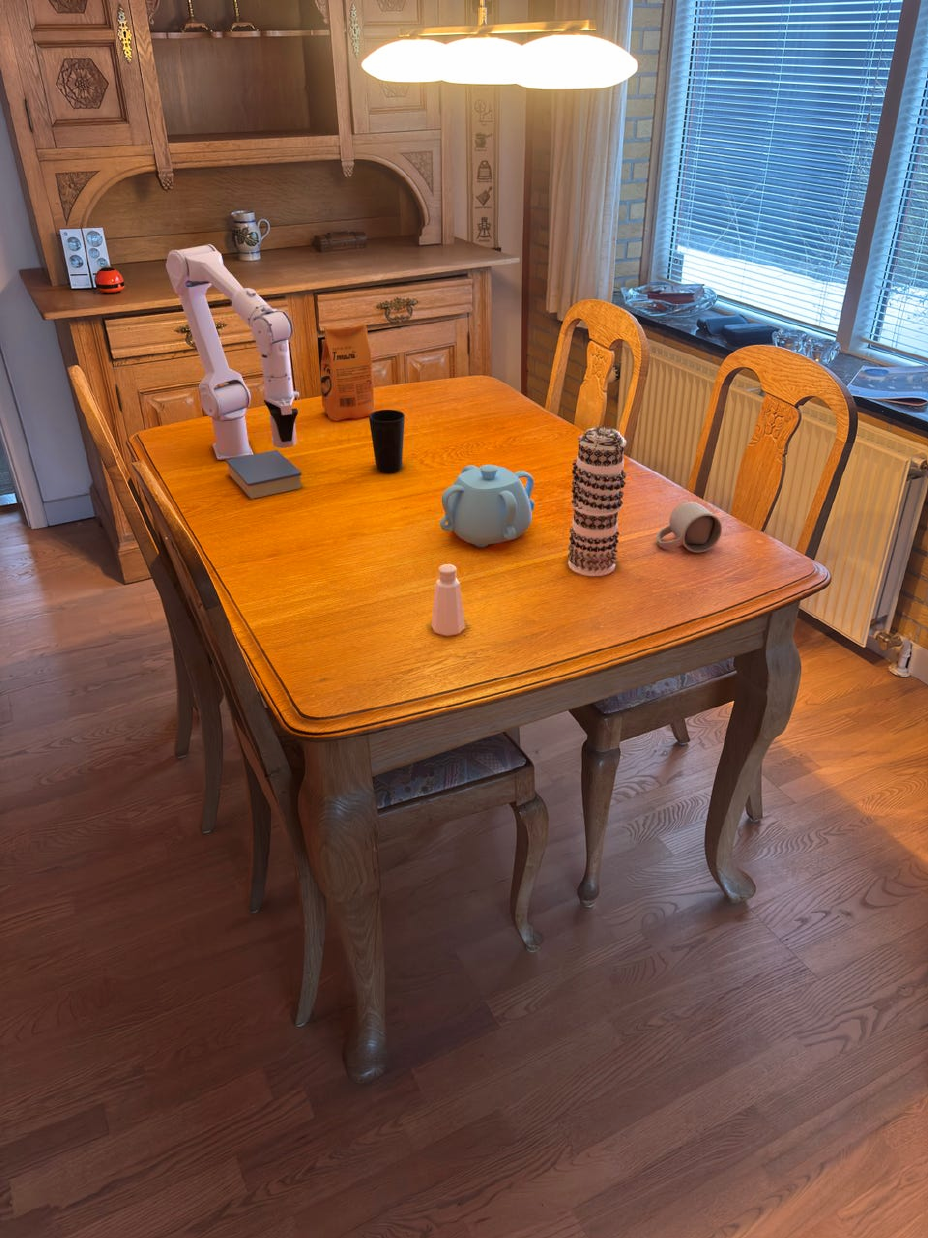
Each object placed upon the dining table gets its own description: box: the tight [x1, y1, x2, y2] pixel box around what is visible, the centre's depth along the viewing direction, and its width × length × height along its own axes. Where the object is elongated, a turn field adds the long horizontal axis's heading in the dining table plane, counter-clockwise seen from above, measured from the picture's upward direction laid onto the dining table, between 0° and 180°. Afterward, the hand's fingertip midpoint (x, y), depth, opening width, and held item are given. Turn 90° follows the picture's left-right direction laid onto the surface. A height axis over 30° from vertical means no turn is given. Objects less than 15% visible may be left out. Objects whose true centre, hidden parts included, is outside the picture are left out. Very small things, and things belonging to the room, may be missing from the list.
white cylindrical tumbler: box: [269, 414, 298, 449], centre depth 197 cm, size 5×5×6 cm
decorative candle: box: [567, 426, 628, 577], centre depth 160 cm, size 9×9×25 cm
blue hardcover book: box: [225, 449, 303, 500], centre depth 197 cm, size 15×12×4 cm
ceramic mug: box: [656, 500, 723, 554], centre depth 172 cm, size 11×8×8 cm
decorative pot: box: [439, 464, 536, 548], centre depth 174 cm, size 16×16×14 cm
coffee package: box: [320, 322, 376, 422], centre depth 228 cm, size 10×12×22 cm
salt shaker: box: [431, 563, 466, 637], centre depth 146 cm, size 5×5×11 cm
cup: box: [368, 409, 406, 474], centre depth 201 cm, size 8×8×12 cm
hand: (284, 436), depth 197 cm, fingers closed on white cylindrical tumbler, 5 cm apart
